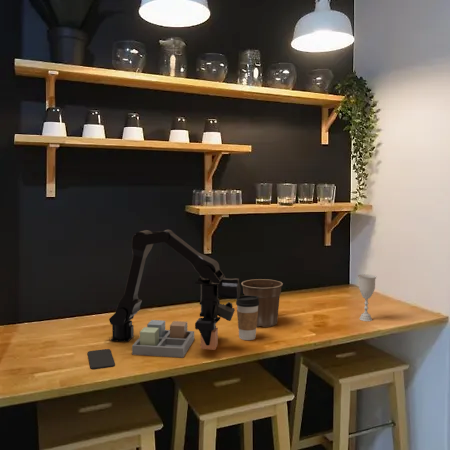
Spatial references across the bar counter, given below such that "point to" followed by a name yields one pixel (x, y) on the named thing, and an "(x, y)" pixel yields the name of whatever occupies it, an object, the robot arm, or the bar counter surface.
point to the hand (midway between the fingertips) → (209, 342)
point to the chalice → (366, 292)
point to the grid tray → (163, 340)
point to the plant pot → (265, 299)
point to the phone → (100, 359)
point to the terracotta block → (211, 341)
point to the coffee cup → (247, 316)
